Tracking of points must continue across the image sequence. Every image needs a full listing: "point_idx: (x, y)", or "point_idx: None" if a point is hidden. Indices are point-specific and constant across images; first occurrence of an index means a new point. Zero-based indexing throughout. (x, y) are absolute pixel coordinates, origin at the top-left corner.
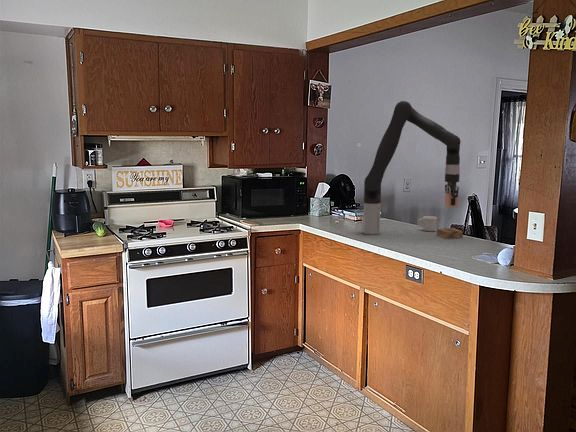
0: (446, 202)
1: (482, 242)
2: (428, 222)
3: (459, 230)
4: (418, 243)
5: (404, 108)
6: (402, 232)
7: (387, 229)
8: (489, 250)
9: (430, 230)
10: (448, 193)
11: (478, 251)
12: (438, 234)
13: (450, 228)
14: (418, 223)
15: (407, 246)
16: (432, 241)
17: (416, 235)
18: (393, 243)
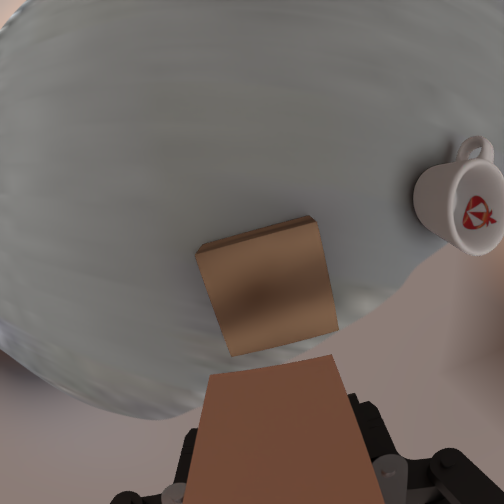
0: (279, 398)
1: (146, 386)
2: (436, 186)
3: (260, 346)
4: (65, 102)
5: None
6: (366, 39)
7: (427, 4)
8: (28, 355)
9: (413, 198)
10: None
11: (4, 318)
12: (288, 222)
13: (330, 308)
14: (469, 139)
15: (22, 72)
16: (112, 167)
17: (283, 91)
18: (70, 13)
